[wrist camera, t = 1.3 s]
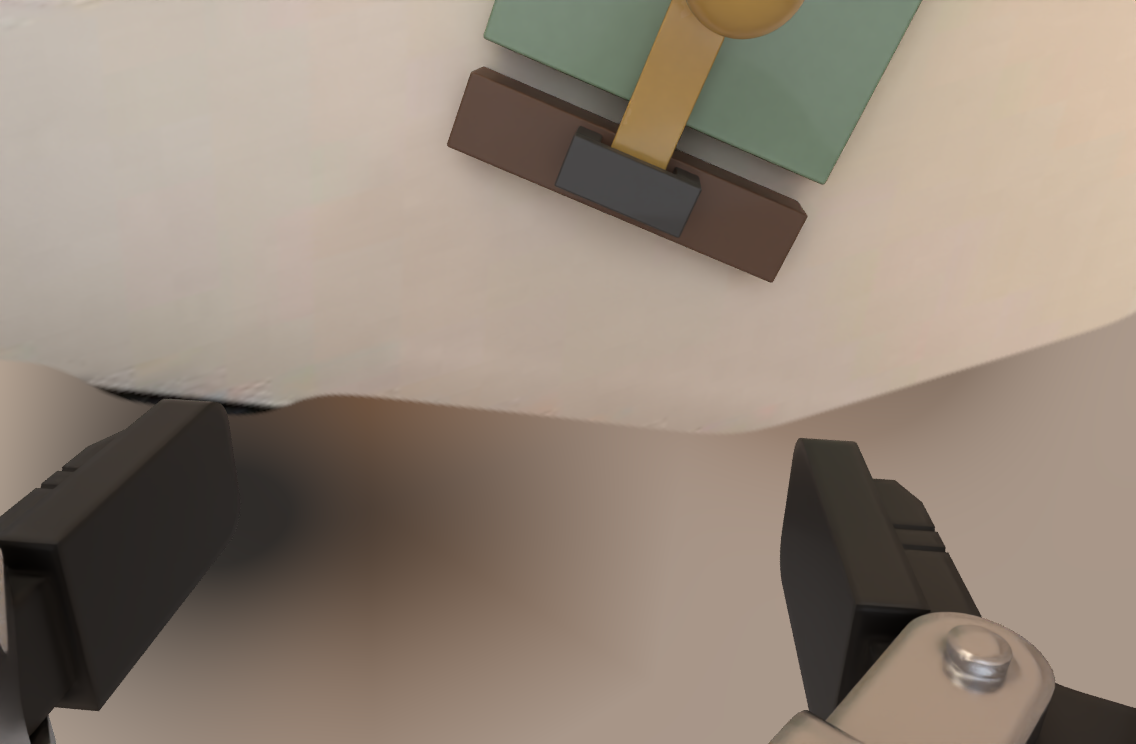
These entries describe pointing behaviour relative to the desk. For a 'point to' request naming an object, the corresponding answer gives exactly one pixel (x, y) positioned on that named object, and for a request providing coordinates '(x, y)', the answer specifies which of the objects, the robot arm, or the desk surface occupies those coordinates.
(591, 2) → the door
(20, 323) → the desk surface
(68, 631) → the robot arm
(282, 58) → the desk surface
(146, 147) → the desk surface
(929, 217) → the desk surface
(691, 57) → the yellow lever
